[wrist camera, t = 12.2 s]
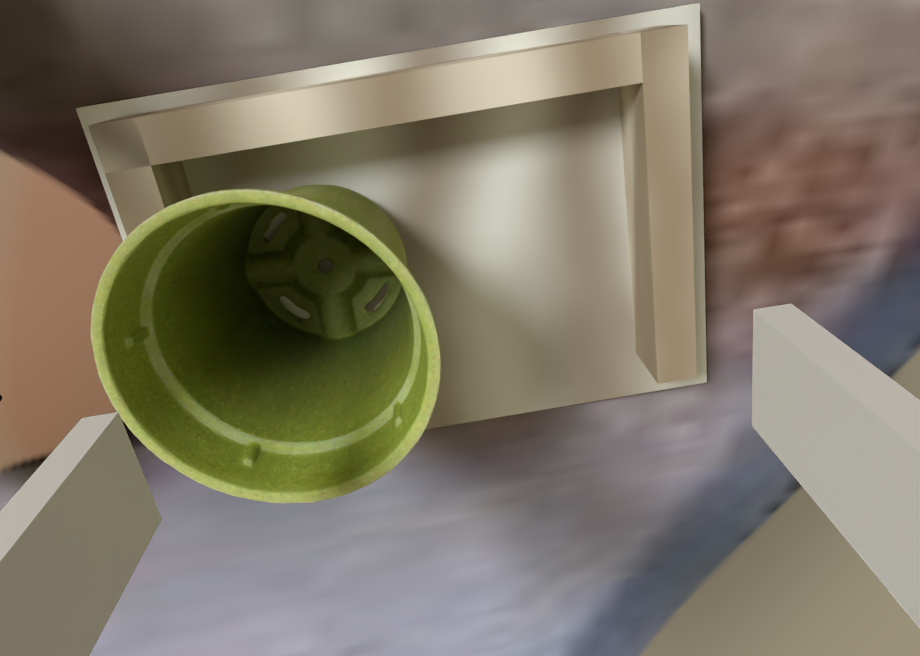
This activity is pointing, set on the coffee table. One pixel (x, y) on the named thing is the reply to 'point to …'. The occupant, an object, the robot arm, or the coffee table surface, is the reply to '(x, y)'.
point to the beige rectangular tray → (480, 194)
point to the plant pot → (268, 342)
